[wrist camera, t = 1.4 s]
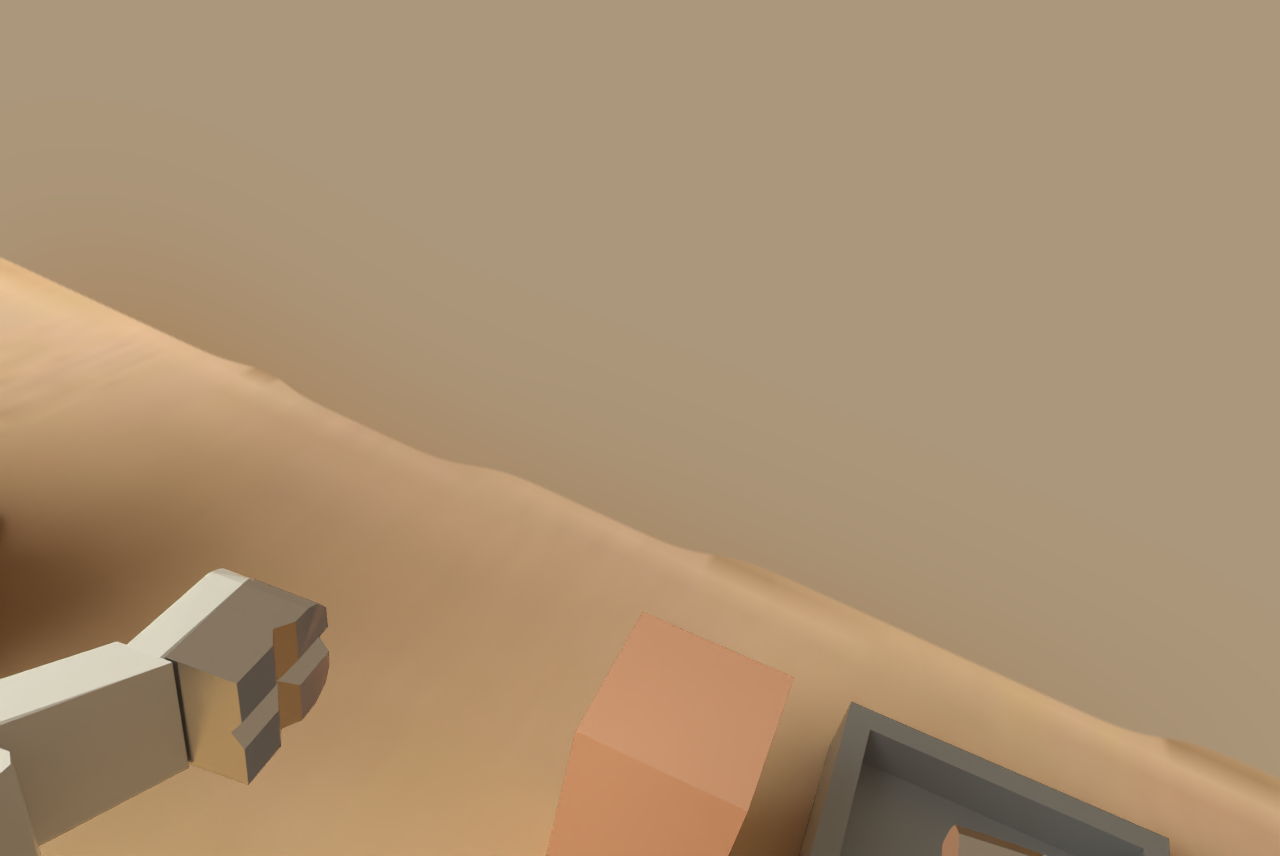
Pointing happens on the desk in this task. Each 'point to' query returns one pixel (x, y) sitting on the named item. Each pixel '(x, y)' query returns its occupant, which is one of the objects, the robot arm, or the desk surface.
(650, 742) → the block
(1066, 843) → the tray
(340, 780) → the desk surface
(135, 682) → the robot arm
